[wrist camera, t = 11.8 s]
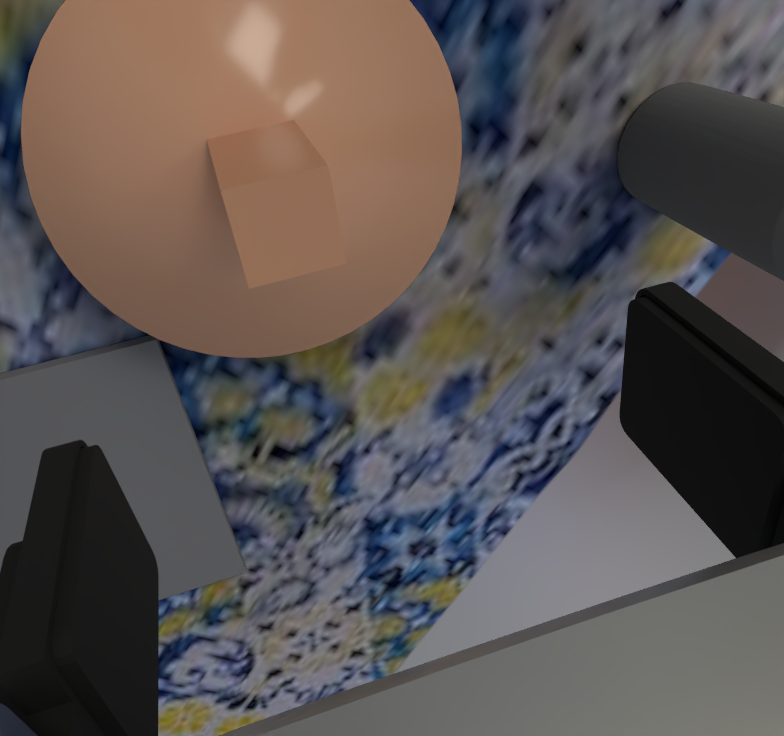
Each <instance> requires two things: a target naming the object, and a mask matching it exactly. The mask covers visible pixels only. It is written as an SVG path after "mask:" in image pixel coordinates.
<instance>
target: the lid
mask: <svg viewBox="0 0 784 736" xmlns="http://www.w3.org/2000/svg"><path fill="white" fill-rule="evenodd" d="M21 142H22V153H23V165H24V170H25V174H26V178H27V183H28V187H29V191H30V196H31V199H32V201H33V204H34V206H35V209H36V212H37V214H38V217H39V220H40V222H41V225H42V227H43V228H44V230H45V232H46V234H47V236H48V238H49V240H50V241H51V243H52V245H53V247H54V249H55V251H56V252H57V253H58V255H59V256H60V258H61V259H62V260H63V262H64V263H65V265H66V266H67V267H68V269H69V270H70V271H71V273H72V274H73V275H74V276H75V278H76V279H77V280H78V281H79V282H80V283H81V284H82V285H83V286H84V287H85V288H86V289H87V290H88V291H89V293H90V294H91V295H92V296H93V297H95V298H96V299H97V300H98V301H99V302H101V303H102V304H103V305H104V306H105V307H107V308H108V309H109V310H110V311H111V312H113V313H114V314H115V315H117V316H118V317H120V318H121V319H123V320H124V321H126V322H128V323H129V324H131V325H132V326H134V327H135V328H137V329H139V330H141V331H143V332H145V333H147V334H149V335H151V336H153V337H155V338H157V339H159V340H161V341H164V342H167V343H170V344H172V345H175V346H178V347H181V348H184V349H187V350H192V351H196V352H200V353H204V354H208V355H216V356H224V357H233V358H263V357H272V356H281V355H287V354H292V353H296V352H301V351H305V350H309V349H312V348H315V347H317V346H320V345H323V344H326V343H329V342H331V341H334V340H336V339H338V338H340V337H342V336H344V335H346V334H348V333H351V332H352V331H354V330H356V329H357V328H359V327H360V326H362V325H364V324H365V323H367V322H369V321H370V320H372V319H373V318H374V317H376V316H377V315H378V314H379V313H381V312H382V311H383V310H384V309H386V308H387V307H388V306H390V305H391V304H392V303H393V302H394V301H395V300H396V299H397V298H398V297H399V296H400V295H401V294H402V293H403V292H404V291H405V290H406V289H407V288H408V287H409V285H410V284H411V283H412V282H413V280H414V279H415V278H416V277H417V275H418V274H419V273H420V272H421V271H422V269H423V268H424V266H425V264H426V263H427V261H428V260H429V258H430V257H431V255H432V253H433V252H434V250H435V248H436V246H437V244H438V242H439V240H440V238H441V236H442V234H443V232H444V230H445V228H446V225H447V222H448V219H449V217H450V214H451V211H452V208H453V205H454V201H455V197H456V192H457V188H458V183H459V179H460V168H461V158H462V130H461V120H460V113H459V106H458V99H457V95H456V92H455V88H454V84H453V81H452V77H451V74H450V70H449V68H448V66H447V63H446V61H445V59H444V56H443V54H442V51H441V49H440V47H439V44H438V43H437V41H436V39H435V37H434V36H433V34H432V32H431V31H430V29H429V27H428V25H427V24H426V22H425V20H424V19H423V17H422V16H421V15H420V13H419V12H418V11H417V10H416V8H415V7H414V6H413V4H412V3H411V2H410V0H66V1H65V2H64V3H63V4H62V5H61V7H60V8H59V9H58V11H57V12H56V14H55V16H54V18H53V19H52V21H51V23H50V25H49V26H48V28H47V30H46V32H45V33H44V35H43V37H42V39H41V41H40V44H39V46H38V49H37V52H36V54H35V57H34V60H33V62H32V65H31V68H30V70H29V75H28V80H27V84H26V89H25V94H24V99H23V106H22V123H21Z"/></svg>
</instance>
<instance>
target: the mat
mask: <svg viewBox="0 0 784 736" xmlns="http://www.w3.org/2000/svg"><path fill="white" fill-rule="evenodd" d="M77 440H83V441H84V442H85V443H86V444H87V446H88V447H89V446H93V445H98V446H99V447H100V448H101V449H102V451H103V453H104V455H105V457H106V459H107V461H108V463H109V465H110V467H111V469H112V471H113V473H114V475H115V477H116V479H117V481H118V483H119V485H120V487H121V489H122V491H123V493H124V495H125V497H126V499H127V501H128V503H129V505H130V507H131V509H132V511H133V513H134V515H135V517H136V519H137V521H138V523H139V525H140V527H141V529H142V531H143V533H144V535H145V537H146V539H147V541H148V543H149V545H150V547H151V549H152V551H153V553H154V555H155V558H156V562H157V566H158V575H159V600H161V599H164V598H167V597H170V596H173V595H176V594H180V593H183V592H186V591H189V590H192V589H195V588H198V587H202V586H205V585H208V584H211V583H214V582H217V581H220V580H224V579H227V578H230V577H233V576H236V575H239V574H242V573H245V572H246V565H245V562H244V560H243V557H242V554H241V552H240V549H239V547H238V544H237V541H236V539H235V536H234V534H233V531H232V528H231V526H230V523H229V521H228V518H227V515H226V513H225V510H224V508H223V505H222V502H221V500H220V497H219V495H218V492H217V490H216V487H215V484H214V482H213V479H212V477H211V474H210V471H209V469H208V466H207V464H206V461H205V458H204V456H203V453H202V451H201V448H200V445H199V443H198V440H197V438H196V435H195V432H194V430H193V427H192V425H191V422H190V419H189V417H188V414H187V412H186V409H185V406H184V404H183V401H182V399H181V396H180V394H179V391H178V388H177V386H176V383H175V381H174V378H173V375H172V373H171V370H170V368H169V365H168V362H167V360H166V357H165V355H164V352H163V349H162V347H161V344H160V342H159V339H157V338H155V337H153V336H151V335H148V336H144V337H140V338H136V339H132V340H129V341H125V342H121V343H117V344H113V345H109V346H105V347H101V348H97V349H94V350H90V351H86V352H82V353H78V354H74V355H70V356H66V357H62V358H59V359H55V360H51V361H47V362H43V363H39V364H35V365H31V366H27V367H24V368H20V369H16V370H12V371H8V372H4V373H0V570H1V566H2V562H3V558H4V555H5V553H6V550H7V548H8V547H9V546H10V545H11V544H13V543H17V542H20V541H23V537H24V532H25V528H26V523H27V519H28V514H29V509H30V505H31V500H32V496H33V491H34V487H35V482H36V477H37V473H38V468H39V464H40V459H41V455H42V452H43V450H45V449H47V448H51V447H54V446H58V445H62V444H65V443H69V442H73V441H77Z"/></svg>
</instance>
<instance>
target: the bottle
mask: <svg viewBox="0 0 784 736" xmlns="http://www.w3.org/2000/svg"><path fill="white" fill-rule="evenodd" d="M617 167H618V172H619V177H620V179H621V181H622V183H623V185H624V187H625V188H626V190H627V191H628V192H629V193H630V194H631V195H632V196H634V197H635V198H636V199H638V200H639V201H641V202H642V203H644V204H646V205H648V206H649V207H651V208H653V209H655V210H656V211H658V212H660V213H662V214H664V215H665V216H667V217H669V218H671V219H672V220H674V221H676V222H678V223H680V224H681V225H683V226H685V227H687V228H688V229H690V230H692V231H694V232H696V233H697V234H699V235H701V236H703V237H704V238H706V239H708V240H710V241H712V242H713V243H715V244H717V245H719V246H721V247H722V248H724V249H726V250H728V251H730V252H732V253H733V254H735V255H737V256H739V257H741V258H743V259H744V260H746V261H748V262H750V263H752V264H754V265H756V266H757V267H759V268H761V269H763V270H765V271H767V272H768V273H770V274H772V275H774V276H776V277H778V278H779V279H781V280H783V281H784V107H781V106H777V105H774V104H770V103H767V102H763V101H759V100H756V99H752V98H749V97H745V96H742V95H738V94H734V93H731V92H727V91H723V90H719V89H716V88H712V87H708V86H704V85H699V84H695V83H678V84H674V85H670V86H667V87H665V88H663V89H661V90H659V91H657V92H656V93H654V94H653V95H651V96H650V97H649V98H648V99H647V100H646V101H644V102H643V103H642V104H641V105H640V106H639V108H638V109H637V110H636V111H635V113H634V114H633V116H632V117H631V118H630V120H629V122H628V123H627V125H626V127H625V130H624V132H623V134H622V137H621V140H620V143H619V148H618V155H617Z"/></svg>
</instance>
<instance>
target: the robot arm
mask: <svg viewBox="0 0 784 736" xmlns="http://www.w3.org/2000/svg"><path fill="white" fill-rule="evenodd" d="M620 422H621V425H622V427H623V429H624V431H625V432H626V434H627V435H628V437H629V438H630V439H631V440H632V441H633V442H634V443H635V444H636V446H637V447H638V448H639V449H640V450H641V451H642V452H643V453H644V454H645V456H646V457H647V458H648V459H649V460H650V461H651V462H652V464H653V465H654V466H655V467H656V468H657V469H658V470H659V472H660V473H661V474H662V475H663V476H664V477H665V478H666V479H667V480H668V482H669V483H670V484H671V485H672V486H673V487H674V488H675V490H676V491H677V492H678V493H679V494H680V495H681V496H682V497H683V499H684V500H685V501H686V502H687V503H688V504H689V505H690V506H691V508H692V509H694V511H695V512H696V513H697V514H698V515H699V517H700V518H701V519H702V520H703V521H704V522H705V523H706V525H707V526H708V527H709V528H710V529H711V530H712V531H713V532H714V534H715V535H716V536H717V537H718V538H719V539H720V540H721V541H722V543H723V544H724V545H725V546H726V547H727V548H728V549H729V550H730V552H731V553H732V554H733V555H734V556H735V557H736V559H733V560H730V561H727V562H724V563H721V564H718V565H715V566H712V567H709V568H706V569H703V570H700V571H697V572H694V573H691V574H688V575H685V576H682V577H679V578H676V579H673V580H670V581H667V582H664V583H661V584H658V585H655V586H652V587H649V588H646V589H643V590H640V591H637V592H634V593H631V594H628V595H625V596H622V597H619V598H616V599H613V600H610V601H607V602H604V603H601V604H598V605H595V606H592V607H589V608H586V609H583V610H580V611H577V612H574V613H571V614H568V615H566V616H562V617H559V618H557V619H554V620H551V621H548V622H545V623H542V624H539V625H536V626H533V627H530V628H527V629H524V630H521V631H518V632H515V633H512V634H509V635H507V636H503V637H500V638H498V639H495V640H492V641H489V642H486V643H483V644H480V645H477V646H474V647H471V648H468V649H465V650H462V651H459V652H456V653H453V654H451V655H448V656H445V657H442V658H439V659H436V660H433V661H430V662H427V663H424V664H422V665H418V666H416V667H413V668H410V669H407V670H404V671H401V672H398V673H395V674H392V675H389V676H387V677H384V678H381V679H378V680H375V681H372V682H369V683H366V684H363V685H360V686H357V687H355V688H352V689H349V690H346V691H343V692H340V693H337V694H334V695H331V696H328V697H326V698H323V699H320V700H317V701H314V702H311V703H308V704H305V705H302V706H299V707H297V708H294V709H291V710H288V711H285V712H283V713H280V714H277V715H274V716H272V717H269V718H266V719H263V720H261V721H258V722H255V723H252V724H249V725H247V726H244V727H241V728H238V729H236V730H233V731H230V732H227V733H225V734H222V735H219V736H784V362H783V361H781V360H780V359H778V358H777V357H776V356H774V355H773V354H772V353H770V352H769V351H768V350H766V349H765V348H763V347H762V346H761V345H759V344H758V343H757V342H755V341H754V340H752V339H751V338H750V337H748V336H747V335H746V334H744V333H743V332H741V331H740V330H739V329H737V328H736V327H735V326H733V325H732V324H731V323H729V322H727V321H726V320H725V319H723V318H722V317H721V316H720V315H718V314H717V313H715V312H714V311H712V310H711V309H710V308H708V307H707V306H706V305H704V304H703V303H702V302H700V301H699V300H698V299H696V298H695V297H693V296H692V295H691V294H689V293H688V292H687V291H685V290H684V289H682V288H681V287H680V286H678V285H677V284H675V283H673V282H667V283H663V284H659V285H655V286H652V287H648V288H644V289H641V290H640V291H638V292H637V294H636V297H635V299H634V300H632V301H630V303H629V306H628V315H627V327H626V340H625V353H624V365H623V378H622V390H621V404H620ZM158 601H159V575H158V566H157V562H156V558H155V555H154V553H153V551H152V549H151V547H150V545H149V543H148V541H147V539H146V537H145V535H144V533H143V531H142V529H141V527H140V525H139V523H138V521H137V519H136V517H135V515H134V513H133V511H132V509H131V507H130V505H129V503H128V501H127V499H126V497H125V495H124V493H123V491H122V489H121V487H120V485H119V483H118V481H117V479H116V477H115V475H114V473H113V471H112V469H111V467H110V465H109V463H108V461H107V459H106V457H105V455H104V453H103V451H102V449H101V448H100V447H99V446H98V445H93V446H89V447H88V446H87V444H86V443H85V442H84V441H83V440H77V441H73V442H69V443H65V444H62V445H58V446H54V447H51V448H47V449H45V450H43V452H42V455H41V459H40V464H39V468H38V473H37V477H36V482H35V487H34V491H33V496H32V500H31V505H30V509H29V514H28V519H27V523H26V528H25V532H24V537H23V541H20V542H17V543H13V544H11V545H10V546H9V547H8V548H7V550H6V553H5V555H4V558H3V562H2V566H1V570H0V736H158Z"/></svg>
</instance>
